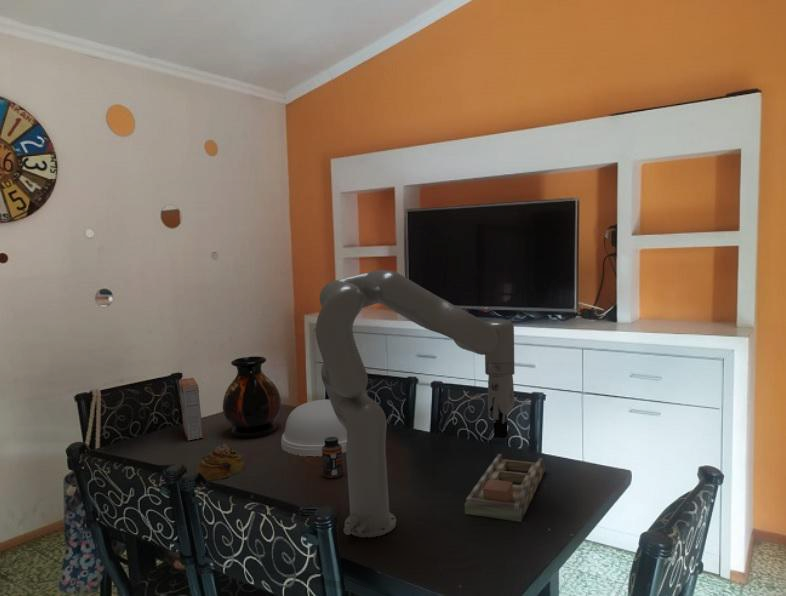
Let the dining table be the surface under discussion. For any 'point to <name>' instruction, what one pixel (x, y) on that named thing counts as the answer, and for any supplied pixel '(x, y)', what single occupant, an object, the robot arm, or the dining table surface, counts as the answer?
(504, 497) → the terracotta block
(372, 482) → the robot arm
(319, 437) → the dome cover
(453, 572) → the dining table surface
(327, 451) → the supplement bottle
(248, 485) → the dining table surface
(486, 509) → the board
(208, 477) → the pastry
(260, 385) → the dark brown vase
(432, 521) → the dining table surface
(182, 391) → the cracker box
